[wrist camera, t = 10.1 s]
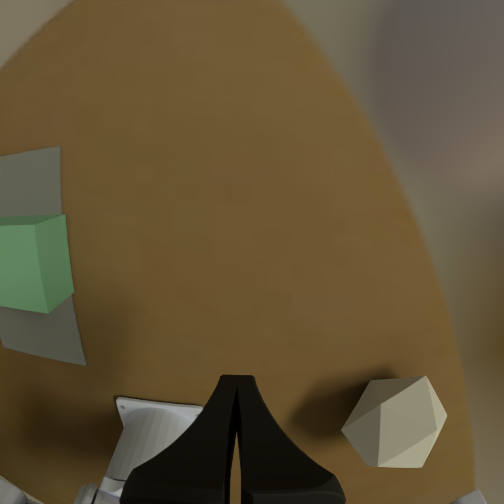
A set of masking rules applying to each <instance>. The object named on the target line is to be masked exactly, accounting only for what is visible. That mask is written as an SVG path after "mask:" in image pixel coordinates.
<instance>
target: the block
mask: <svg viewBox="0 0 504 504" xmlns="http://www.w3.org/2000/svg"><path fill="white" fill-rule="evenodd" d="M72 293H74V287H73V280H72V273H71V266H70V258H69V249H68V240H67V228H66V215H65V214H59V215H31V216H10V217H0V306H4V307H9V308H15V309H21V310H27V311H34V312H40V313H47V314H49V313H50V312H51V311H52V310H53V309H54V308H56V307H57V306H58V305H59V304H60V303H62V302H63V301H64V300H65V299H66V298H68V297H69V296H70V295H71V294H72Z"/></svg>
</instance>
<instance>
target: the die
mask: <svg viewBox="0 0 504 504" xmlns="http://www.w3.org/2000/svg"><path fill="white" fill-rule="evenodd" d="M446 418H447V414H446V412H445V410H444V408H443V406H442V404H441V402H440V401H439V399H438V397H437V395H436V393H435V391H434V389H433V388H432V386H431V384H430V382H429V380H428V379H427V377H426V376H416V377H406V378H395V379H381V380H370V382H369V384H368V385H367V387H366V389H365V391H364V393H363V394H362V396H361V398H360V400H359V401H358V403H357V405H356V406H355V408H354V410H353V411H352V413H351V415H350V416H349V418H348V419H347V421H346V423H345V424H344V426H343V427H342V429H341V431H342V432H343V434H344V435H345V436H346V438H347V439H348V441H349V442H350V443H351V445H352V446H353V447H354V449H355V450H356V451H357V453H358V454H359V455H360V457H361V458H362V459H363V461H364V462H365V463H366V465H367V466H376V467H403V468H421V467H422V465H423V464H424V462H425V460H426V458H427V456H428V454H429V453H430V451H431V449H432V447H433V445H434V443H435V441H436V439H437V437H438V435H439V433H440V431H441V428H442V426H443V424H444V422H445V420H446Z"/></svg>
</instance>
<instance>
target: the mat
mask: <svg viewBox="0 0 504 504" xmlns="http://www.w3.org/2000/svg"><path fill="white" fill-rule="evenodd" d="M59 214H62V198H61V146H58V147H51V148H45V149H39V150H33V151H27V152H22V153H17V154H11V155H6V156H2V157H0V217H10V216H31V215H59ZM0 339H1V342H2V345H3V347H4V348H8V349H12V350H15V351H19V352H23V353H27V354H31V355H36V356H40V357H44V358H49V359H54V360H58V361H63V362H68V363H73V364H79V365H84V366H87V362H86V358H85V354H84V350H83V346H82V342H81V338H80V333H79V329H78V324H77V319H76V314H75V309H74V304H73V298H72V294H71V295H70V296H69V297H68V298H66V299H65V300H64V301H63V302H62V303H60V304H59V305H58V306H57V307H56V308H54V309H53V310H52V311H51V312H50V313H49V314H47V313H40V312H34V311H27V310H21V309H15V308H9V307H4V306H0Z"/></svg>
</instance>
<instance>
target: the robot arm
mask: <svg viewBox="0 0 504 504" xmlns="http://www.w3.org/2000/svg"><path fill="white" fill-rule="evenodd" d="M116 404H117V407H118V411H119V414H120V417H121V420H122V423H123V427H124V429H123V431H122V434H121V436H120V439H119V441H118V444H117V446H116V449H115V451H114V454H113V456H112V459H111V461H110V464H109V466H108V469H107V472H106V474H105V477H103V480H102V482H101V485H100V487H99V490H98V489H96V488H97V485H95V484H93V483H89V485H83V486H82V487H81V489H80V491H79V493H78V495H77V497H76V499H75V502H74V504H230V477H231V467H232V460H233V453H234V446H235V439H236V432H237V437H238V448H239V458H240V468H241V504H345V502H346V499H345V495H344V492H343V490H342V488H341V486H340V483H339V482H338V480H337V478H336V476H335V475H334V474H332V473H331V472H329V471H327V470H326V469H324V468H323V467H321V466H320V465H318V464H317V463H316V462H315V461H313V460H312V459H311V458H309V457H308V456H307V455H306V454H305V453H304V452H303V451H302V450H301V449H299V448H298V447H297V446H296V445H295V444H294V443H293V442H292V441H291V440H290V438H289V437H288V436H287V435H286V434H285V433H284V431H283V430H282V429H281V428H280V426H279V425H278V424H277V422H276V421H275V419H274V418H273V416H272V415H271V413H270V411H269V410H268V408H267V406H266V404H265V403H264V401H263V399H262V397H261V395H260V392H259V390H258V387H257V385H256V381H255V377H253V376H252V375H222V376H220V379H219V382H218V384H217V386H216V388H215V390H214V392H213V394H212V396H211V397H210V399H209V400H208V402H207V404H206V405H205V407H204V408H202V407H201V406H196V405H183V404H172V403H163V402H154V401H146V400H138V399H131V398H125V397H118V398H117V400H116ZM197 414H199V415H197ZM0 504H38V503H36V502H34V501H32V500H29V499H27V497H26V495H25V494H24V493H23V492H22V491H21V490H20V489H19V488H18V487H16V486H14V485H13V484H11V483H9V482H7V481H5V480H3V479H1V478H0ZM450 504H487V503H486V501H485V499H484V497H483V496H482V494H481V492H480V490H479V489H477V490H475V491H472V492H470V493H468V494H466V495H464V496H461V497H459V498H457V499H456V500H454V501H453V502H451V503H450Z"/></svg>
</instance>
